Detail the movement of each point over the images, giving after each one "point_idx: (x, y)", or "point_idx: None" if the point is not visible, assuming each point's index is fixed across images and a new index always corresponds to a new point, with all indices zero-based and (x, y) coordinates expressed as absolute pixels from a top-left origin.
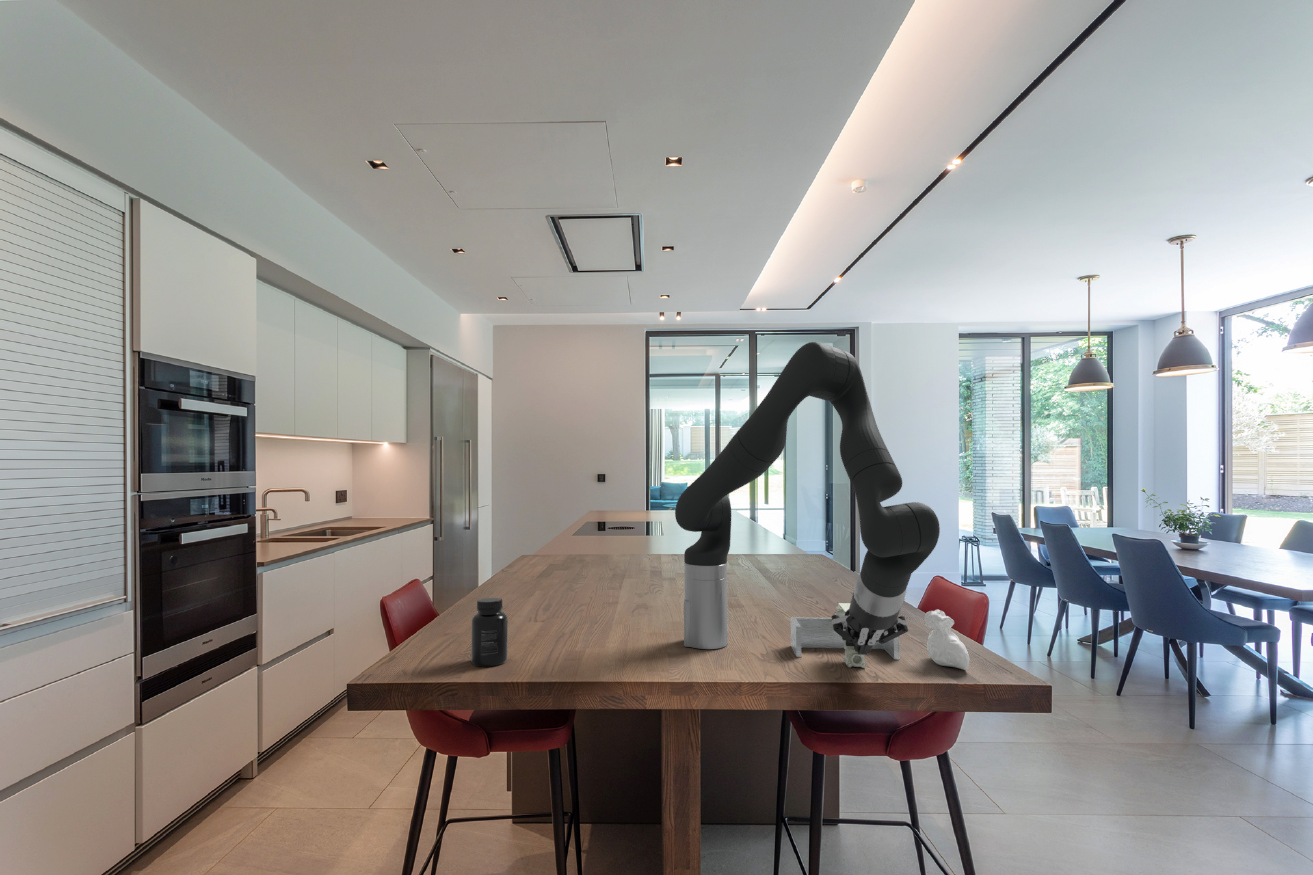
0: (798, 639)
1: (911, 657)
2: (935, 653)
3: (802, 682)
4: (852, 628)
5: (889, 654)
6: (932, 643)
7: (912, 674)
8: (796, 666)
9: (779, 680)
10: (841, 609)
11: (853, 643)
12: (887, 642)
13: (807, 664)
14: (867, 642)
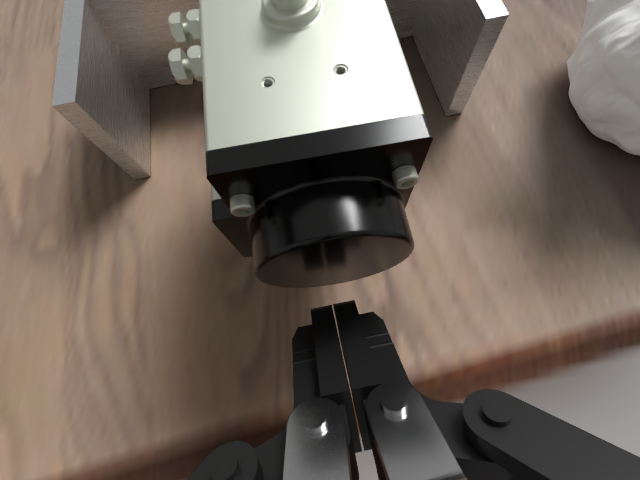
0: (102, 142)
1: (496, 83)
2: (616, 120)
3: (109, 470)
4: (255, 475)
5: (429, 76)
6: (631, 83)
7: (514, 249)
8: (119, 276)
9: (23, 470)
10: (199, 61)
11: (293, 346)
12: (431, 33)
13: (160, 244)
14: (378, 476)
